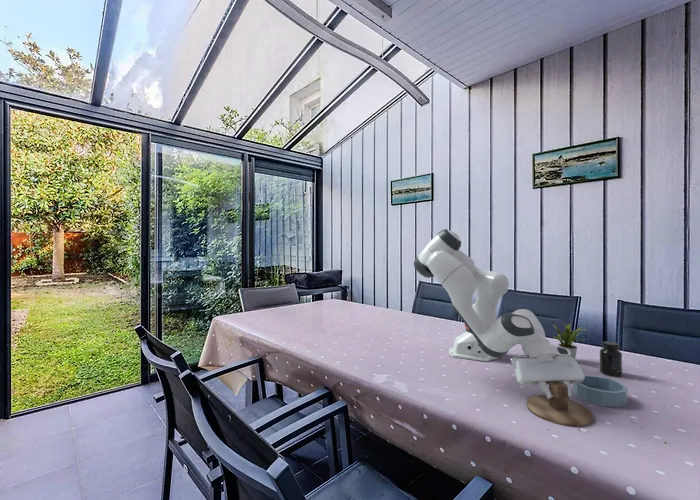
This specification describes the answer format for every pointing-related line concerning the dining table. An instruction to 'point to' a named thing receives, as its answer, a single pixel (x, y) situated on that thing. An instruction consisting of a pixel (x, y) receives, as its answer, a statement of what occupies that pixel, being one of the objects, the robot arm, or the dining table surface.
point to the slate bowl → (601, 391)
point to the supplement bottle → (611, 359)
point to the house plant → (568, 339)
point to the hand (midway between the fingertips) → (559, 397)
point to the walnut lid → (559, 407)
